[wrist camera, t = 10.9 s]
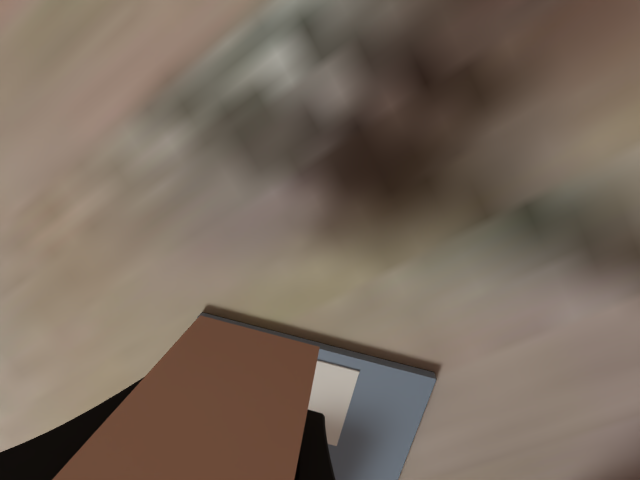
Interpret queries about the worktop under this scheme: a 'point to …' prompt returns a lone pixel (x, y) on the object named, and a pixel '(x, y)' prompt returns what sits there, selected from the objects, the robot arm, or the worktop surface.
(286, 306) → the worktop surface
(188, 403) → the terracotta pillar
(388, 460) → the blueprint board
